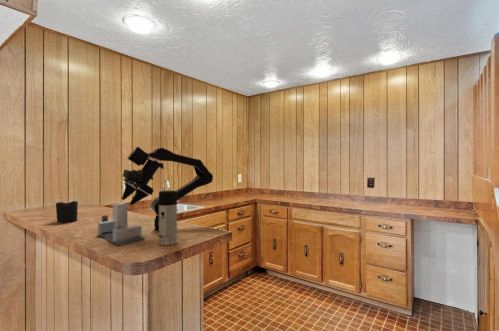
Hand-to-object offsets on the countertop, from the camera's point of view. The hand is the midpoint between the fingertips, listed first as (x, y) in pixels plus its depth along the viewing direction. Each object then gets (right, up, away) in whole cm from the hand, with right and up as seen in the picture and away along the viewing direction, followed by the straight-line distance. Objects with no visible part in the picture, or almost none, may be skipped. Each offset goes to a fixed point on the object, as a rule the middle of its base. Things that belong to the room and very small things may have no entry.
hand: (126, 202), depth 115 cm
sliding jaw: (-10, -13, +4) cm, 17 cm away
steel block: (0, -13, -4) cm, 14 cm away
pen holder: (-43, -14, +25) cm, 51 cm away
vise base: (-1, -14, -4) cm, 15 cm away
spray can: (+22, -14, -13) cm, 29 cm away
